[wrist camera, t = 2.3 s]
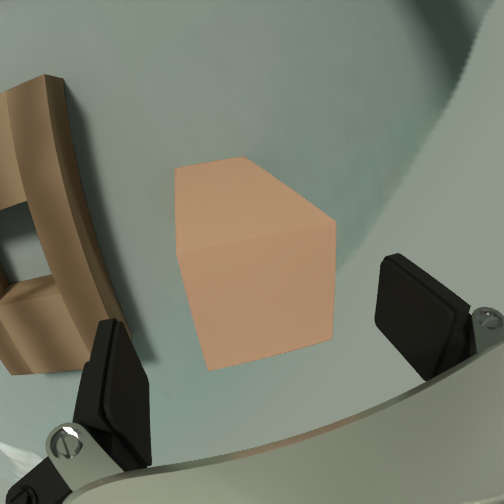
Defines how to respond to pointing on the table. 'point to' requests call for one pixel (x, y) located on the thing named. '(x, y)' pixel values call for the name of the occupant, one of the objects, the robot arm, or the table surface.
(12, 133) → the wooden peg hole block
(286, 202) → the square peg
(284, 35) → the table surface
